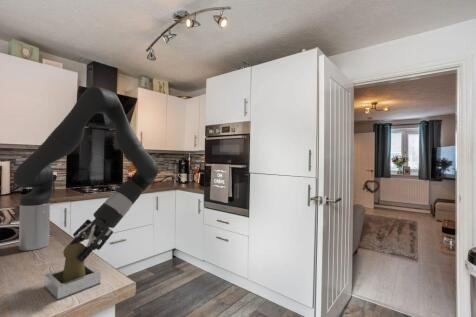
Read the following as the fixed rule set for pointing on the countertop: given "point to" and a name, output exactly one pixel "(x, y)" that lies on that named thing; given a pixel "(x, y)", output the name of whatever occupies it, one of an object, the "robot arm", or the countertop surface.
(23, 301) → the countertop surface
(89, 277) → the grey shallow square box
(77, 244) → the cork
